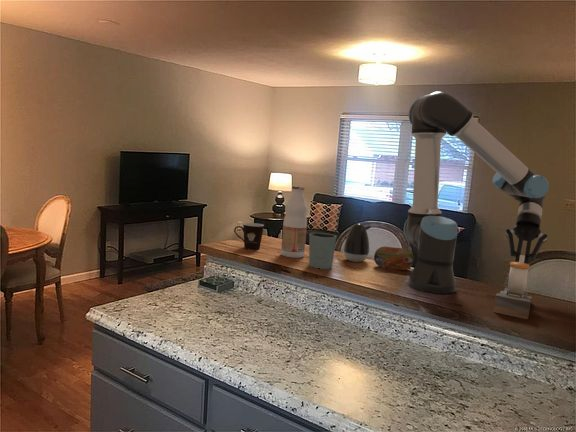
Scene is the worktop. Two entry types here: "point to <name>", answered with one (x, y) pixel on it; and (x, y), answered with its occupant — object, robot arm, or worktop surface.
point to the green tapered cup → (321, 250)
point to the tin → (394, 258)
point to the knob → (517, 278)
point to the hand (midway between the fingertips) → (519, 273)
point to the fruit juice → (295, 224)
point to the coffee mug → (251, 235)
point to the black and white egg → (357, 243)
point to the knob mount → (512, 304)
